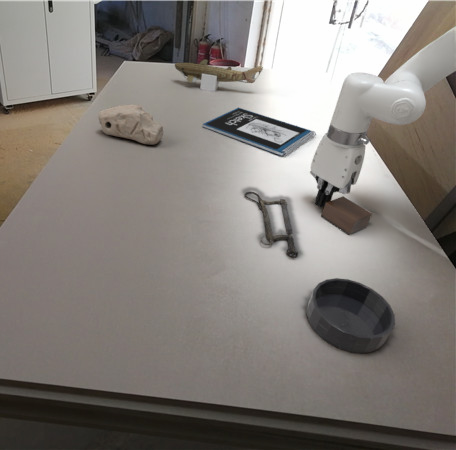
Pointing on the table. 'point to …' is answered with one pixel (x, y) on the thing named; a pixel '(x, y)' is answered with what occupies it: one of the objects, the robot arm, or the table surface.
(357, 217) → the block
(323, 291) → the pan
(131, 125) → the decorative stone
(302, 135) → the sketchbook
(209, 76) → the wood carving
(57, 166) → the table surface
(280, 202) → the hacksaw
